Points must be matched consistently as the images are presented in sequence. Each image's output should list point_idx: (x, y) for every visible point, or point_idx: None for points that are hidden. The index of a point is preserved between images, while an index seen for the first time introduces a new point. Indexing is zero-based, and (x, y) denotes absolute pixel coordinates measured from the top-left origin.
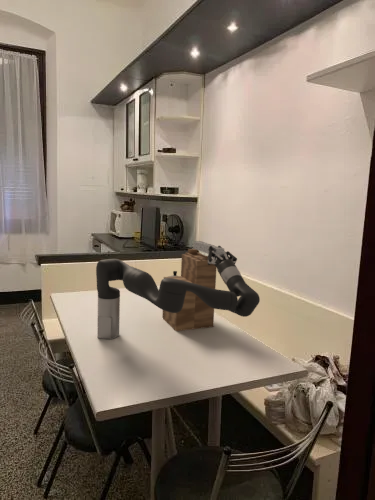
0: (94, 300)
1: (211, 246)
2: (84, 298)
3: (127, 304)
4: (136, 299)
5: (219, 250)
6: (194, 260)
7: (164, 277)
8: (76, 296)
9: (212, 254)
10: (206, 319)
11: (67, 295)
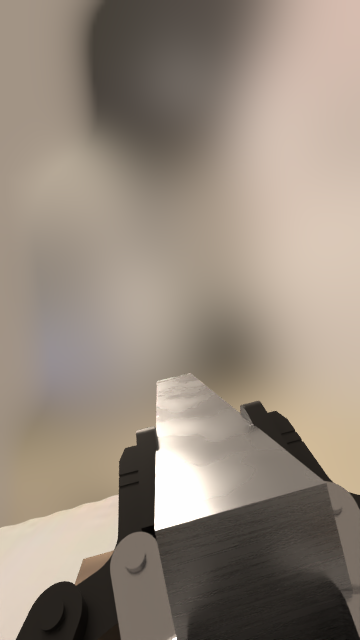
0: (30, 561)
1: (147, 438)
2: (20, 551)
3: None
4: None
5: (224, 552)
6: None
7: (81, 566)
8: (15, 541)
9: (118, 631)
10: None
11: (4, 537)
